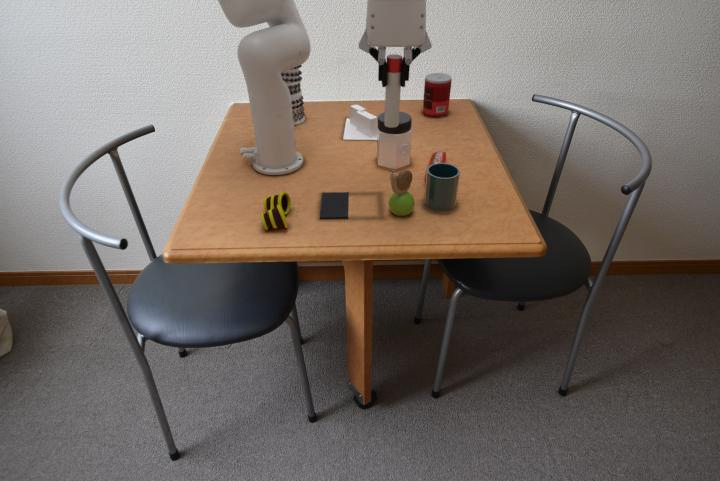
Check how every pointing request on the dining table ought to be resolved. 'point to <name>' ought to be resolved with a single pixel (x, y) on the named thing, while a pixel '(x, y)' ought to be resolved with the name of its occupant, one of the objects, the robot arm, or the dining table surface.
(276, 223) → the opera glasses
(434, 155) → the candy bar
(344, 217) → the mat
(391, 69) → the marker
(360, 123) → the napkin holder
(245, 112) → the dining table surface
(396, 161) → the jar
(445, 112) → the canned food
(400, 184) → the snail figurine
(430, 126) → the dining table surface
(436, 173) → the pen cup
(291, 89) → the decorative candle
